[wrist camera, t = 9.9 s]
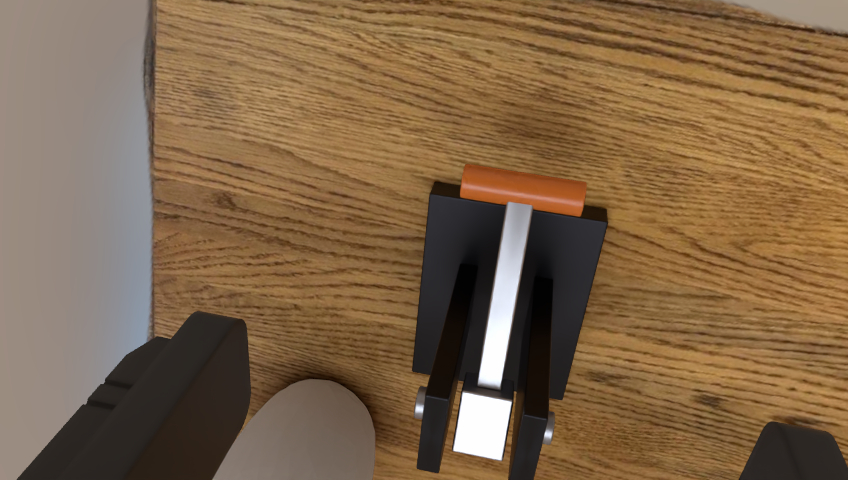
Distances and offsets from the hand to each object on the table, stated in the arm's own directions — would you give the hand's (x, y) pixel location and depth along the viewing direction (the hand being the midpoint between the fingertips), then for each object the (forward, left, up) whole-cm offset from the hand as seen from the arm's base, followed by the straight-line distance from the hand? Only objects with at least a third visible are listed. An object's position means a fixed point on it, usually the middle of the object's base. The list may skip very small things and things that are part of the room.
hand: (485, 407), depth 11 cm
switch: (+9, +4, -17) cm, 20 cm away
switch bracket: (+13, +5, -24) cm, 28 cm away
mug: (+30, -1, -24) cm, 39 cm away
